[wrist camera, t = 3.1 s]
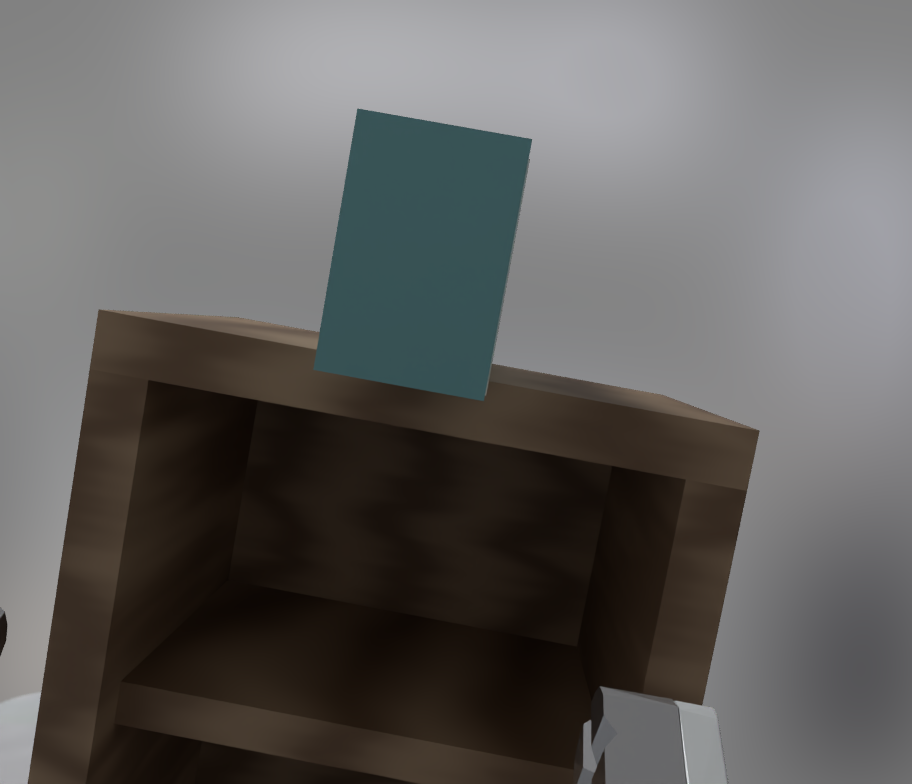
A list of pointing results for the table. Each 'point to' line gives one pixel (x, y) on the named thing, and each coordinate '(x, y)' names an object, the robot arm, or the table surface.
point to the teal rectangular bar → (422, 254)
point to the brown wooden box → (369, 565)
